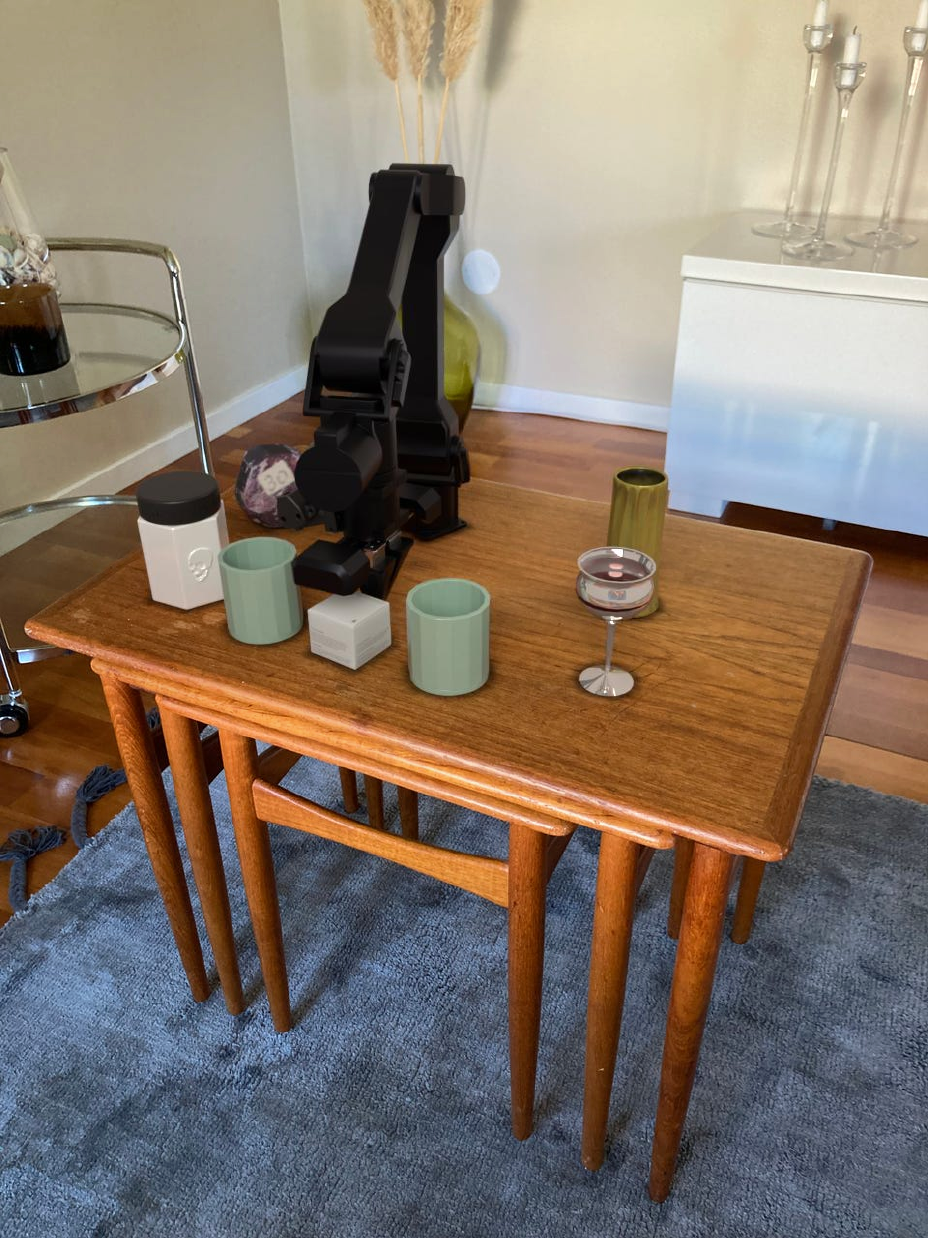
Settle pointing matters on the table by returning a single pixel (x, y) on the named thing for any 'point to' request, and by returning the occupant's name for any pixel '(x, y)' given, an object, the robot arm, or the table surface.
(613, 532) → the vase
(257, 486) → the mineral specimen
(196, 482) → the jar
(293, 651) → the table surface
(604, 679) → the wineglass
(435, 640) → the cup
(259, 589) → the cup
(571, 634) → the table surface
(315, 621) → the small box
